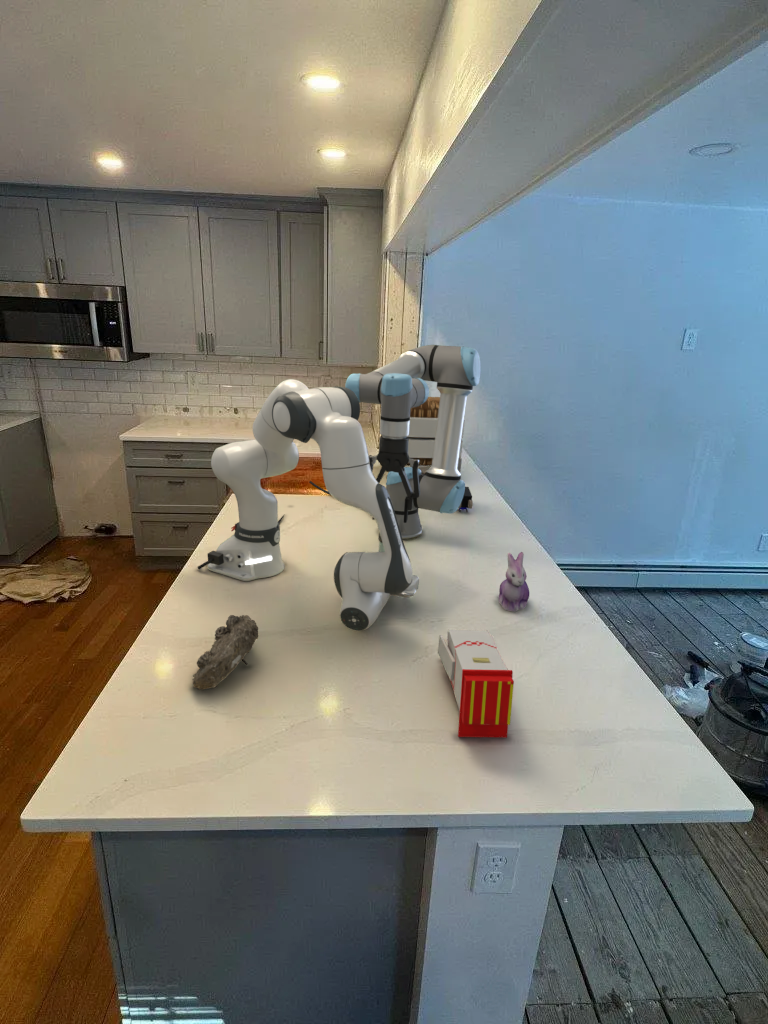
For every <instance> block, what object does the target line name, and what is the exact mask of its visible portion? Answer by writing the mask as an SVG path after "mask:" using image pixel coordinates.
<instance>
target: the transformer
mask: <svg viewBox="0 0 768 1024" xmlns="http://www.w3.org/2000/svg"><path fill="white" fill-rule="evenodd" d="M439 402H440V396H428V398H427V400H426V401H425V402H424V403H423V404H421V405H420V406H417V407H414V408H411V409H410V425H409V435H408V436H407V437H408V439H409V443H408V455H409V458H411V459H415V460H416V459H419V465H418V467H431V466H432V459H433V451H434V443H435V435H436V427H437V418H438V410H439ZM464 429H465V419H464V421H463V429H462V436H461V444H460V451H459V459H458V466H457V470H458V471H459V472H460V474H461V475H462V473H461V472H462V461H463V460H462V453H463V442H464V441H463V440H462V439H463V438H464V431H465V430H464ZM406 467H411V466H410V463H407V464H406Z"/></svg>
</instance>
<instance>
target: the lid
mask: <svg viewBox="0 0 768 1024" xmlns="http://www.w3.org/2000/svg"><path fill="white" fill-rule="evenodd" d="M379 541H380V542H381V543H382V539H381V536H380V532H379V531H378V542H379Z"/></svg>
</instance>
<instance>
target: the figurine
mask: <svg viewBox="0 0 768 1024" xmlns="http://www.w3.org/2000/svg"><path fill="white" fill-rule="evenodd" d="M506 556H507V569H506V571H505V579H504V580H502V581H501V583H500V585H499V591H498V592H499V593H498V597H497V598H498V600H497V601H498V604H499V605H500V606H501V607H502V609H503V610H505V611H507V612H508V611H509V612H518V611H520V610H521V611H522V610H524V609H525V608H526V607H527V605H528V601H529V599H530V588H529V585H528V584H527V581H526V580H527V571H526V570H525V567H524V552H523V551H520V552H519V553H518V555H517V557H516V559H515V557H514V556H513V554H512V553H511V552H508V553H507V555H506Z"/></svg>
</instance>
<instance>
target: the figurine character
mask: <svg viewBox="0 0 768 1024" xmlns="http://www.w3.org/2000/svg"><path fill="white" fill-rule="evenodd" d="M473 502H474V501H473V495H472V492H471V489H470V486H465V491H464V495H463V499H462V501H461V504H460V506H459V508H458V512H459V513H462V511H465V512H466V513H469V510H468V509H470V510H471V509H473V507H474V503H473Z"/></svg>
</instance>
